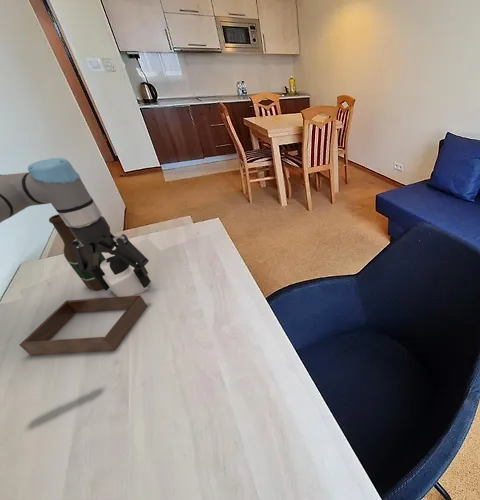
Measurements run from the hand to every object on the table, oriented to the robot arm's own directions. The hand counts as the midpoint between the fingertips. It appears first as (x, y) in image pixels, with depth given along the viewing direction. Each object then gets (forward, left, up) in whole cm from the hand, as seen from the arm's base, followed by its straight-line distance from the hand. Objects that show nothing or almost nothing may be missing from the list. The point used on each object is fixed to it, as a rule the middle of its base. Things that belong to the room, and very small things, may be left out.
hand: (128, 285), depth 89 cm
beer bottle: (-12, +5, -2) cm, 13 cm away
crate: (-1, -15, -2) cm, 15 cm away
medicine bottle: (0, 0, -2) cm, 2 cm away
